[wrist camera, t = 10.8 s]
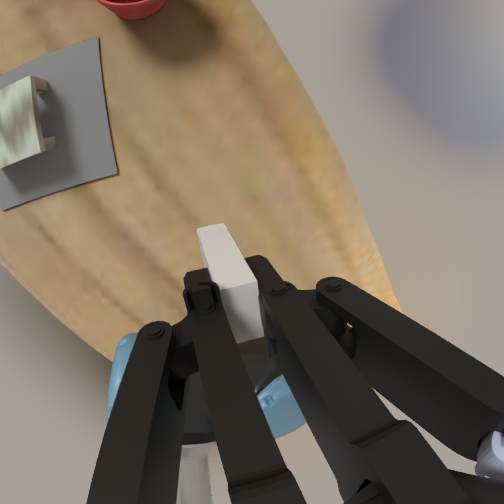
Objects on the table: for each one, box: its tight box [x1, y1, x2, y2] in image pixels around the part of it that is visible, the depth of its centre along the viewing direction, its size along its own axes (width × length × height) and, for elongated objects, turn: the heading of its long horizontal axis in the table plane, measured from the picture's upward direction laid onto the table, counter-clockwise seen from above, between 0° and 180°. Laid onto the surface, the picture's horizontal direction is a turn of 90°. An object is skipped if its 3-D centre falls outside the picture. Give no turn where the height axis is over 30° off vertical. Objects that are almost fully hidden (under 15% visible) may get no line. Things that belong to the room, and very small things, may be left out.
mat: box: [0, 37, 118, 211], centre depth 31 cm, size 20×20×1 cm
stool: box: [0, 75, 56, 170], centre depth 27 cm, size 10×6×10 cm
